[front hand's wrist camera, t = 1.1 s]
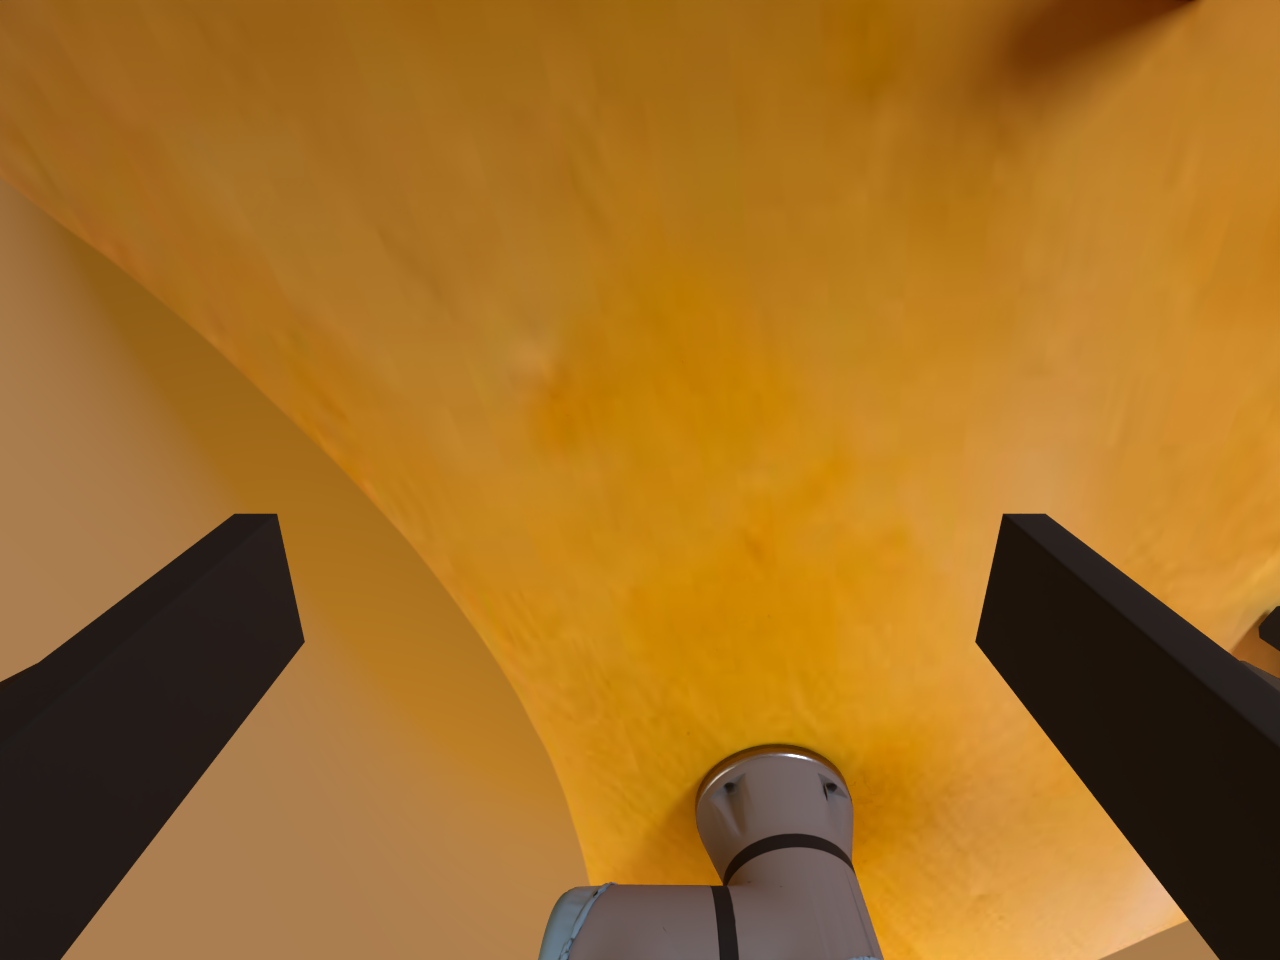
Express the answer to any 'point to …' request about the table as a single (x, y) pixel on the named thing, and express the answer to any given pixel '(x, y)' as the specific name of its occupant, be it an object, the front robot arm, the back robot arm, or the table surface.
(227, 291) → the table surface
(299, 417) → the table surface
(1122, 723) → the front robot arm
